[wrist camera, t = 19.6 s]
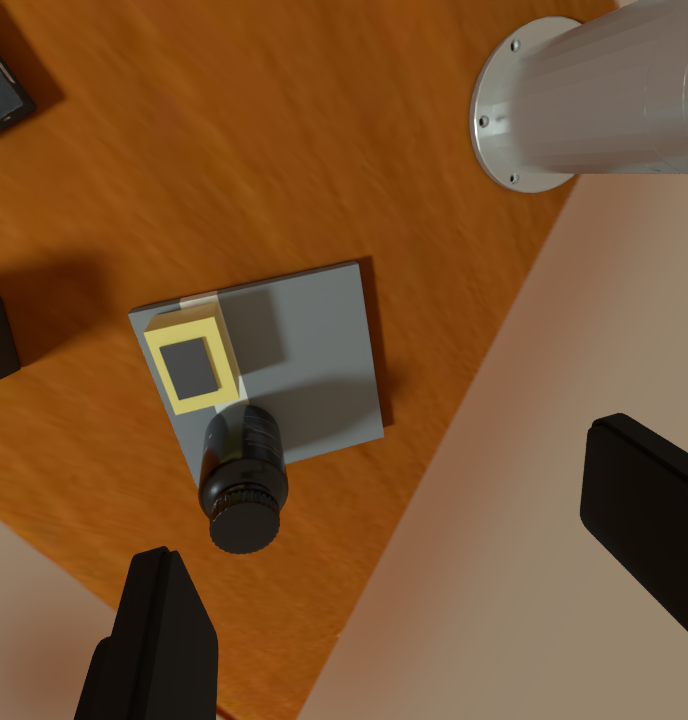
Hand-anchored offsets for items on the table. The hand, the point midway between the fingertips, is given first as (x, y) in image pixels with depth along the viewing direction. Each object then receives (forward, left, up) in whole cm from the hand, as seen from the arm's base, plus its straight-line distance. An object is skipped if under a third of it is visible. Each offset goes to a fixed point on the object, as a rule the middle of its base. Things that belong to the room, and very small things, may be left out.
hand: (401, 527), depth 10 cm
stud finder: (+8, +5, -28) cm, 30 cm away
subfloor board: (+3, +10, -30) cm, 32 cm away
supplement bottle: (+7, +14, -29) cm, 33 cm away
